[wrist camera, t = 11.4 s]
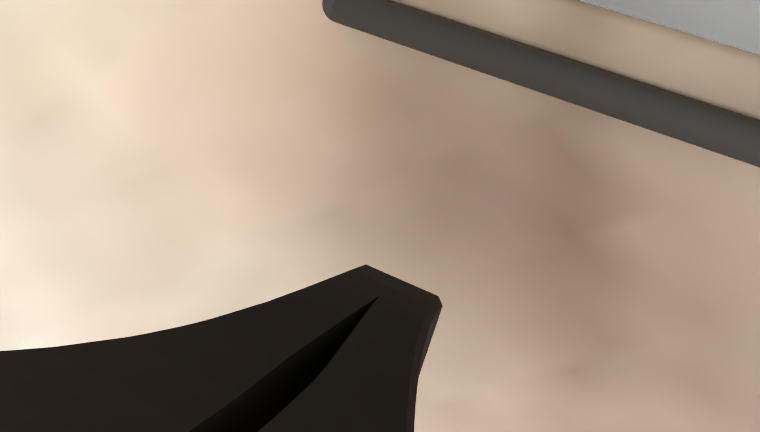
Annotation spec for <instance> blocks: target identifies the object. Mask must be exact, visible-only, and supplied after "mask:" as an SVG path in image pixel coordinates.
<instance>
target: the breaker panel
mask: <svg viewBox="0 0 760 432" xmlns="http://www.w3.org/2000/svg"><path fill="white" fill-rule="evenodd" d="M579 1H583V2H586V3H589V4H593V5H596V6H599V7H602V8H606V9H609V10H612V11H616V12H619V13H622V14H626V15H629V16H632V17H635V18H639V19H642V20H645V21H649V22H652V23H655V24H659V25H662V26H665V27H669V28H672V29H675V30H678V31H682V32H685V33H688V34H692V35H695V36H698V37H702V38H705V39H708V40H712V41H715V42H718V43H721V44H725V45H728V46H731V47H735V48H738V49H741V50H745V51H748V52H751V53H754V54H758V55H760V0H579Z"/></svg>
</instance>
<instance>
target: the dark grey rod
mask: <svg viewBox="0 0 760 432" xmlns="http://www.w3.org/2000/svg"><path fill="white" fill-rule="evenodd" d="M322 5H323V10H324V12H325V14H326V16H327V17H328V18H329V19H330V20H332V21H334V22H337V23H340V24H342V25H345V26H348V27H351V28H354V29H357V30H360V31H363V32H366V33H369V34H372V35H375V36H378V37H380V38H383V39H386V40H389V41H392V42H395V43H398V44H401V45H404V46H407V47H410V48H413V49H416V50H418V51H421V52H424V53H427V54H430V55H433V56H436V57H439V58H442V59H445V60H448V61H451V62H454V63H456V64H459V65H462V66H465V67H468V68H471V69H474V70H477V71H480V72H483V73H486V74H489V75H492V76H494V77H497V78H500V79H503V80H506V81H509V82H512V83H515V84H518V85H521V86H524V87H527V88H530V89H532V90H535V91H538V92H541V93H544V94H547V95H550V96H553V97H556V98H559V99H562V100H565V101H568V102H570V103H573V104H576V105H579V106H582V107H585V108H588V109H591V110H594V111H597V112H600V113H603V114H606V115H608V116H611V117H614V118H617V119H620V120H623V121H626V122H629V123H632V124H635V125H638V126H641V127H644V128H646V129H649V130H652V131H655V132H658V133H661V134H664V135H667V136H670V137H673V138H676V139H679V140H682V141H684V142H687V143H690V144H693V145H696V146H699V147H702V148H705V149H708V150H711V151H714V152H717V153H720V154H722V155H725V156H728V157H731V158H734V159H737V160H740V161H743V162H746V163H749V164H752V165H755V166H757V167H760V121H758V120H755V119H752V118H749V117H746V116H743V115H740V114H737V113H734V112H731V111H728V110H725V109H722V108H719V107H715V106H712V105H709V104H706V103H703V102H700V101H697V100H694V99H691V98H688V97H685V96H682V95H679V94H676V93H672V92H669V91H666V90H663V89H660V88H657V87H654V86H651V85H648V84H645V83H642V82H639V81H636V80H633V79H630V78H626V77H623V76H620V75H617V74H614V73H611V72H608V71H605V70H602V69H599V68H596V67H593V66H590V65H587V64H583V63H580V62H577V61H574V60H571V59H568V58H565V57H562V56H559V55H556V54H553V53H550V52H547V51H544V50H540V49H537V48H534V47H531V46H528V45H525V44H522V43H519V42H516V41H513V40H510V39H507V38H504V37H501V36H498V35H494V34H491V33H488V32H485V31H482V30H479V29H476V28H473V27H470V26H467V25H464V24H461V23H458V22H455V21H451V20H448V19H445V18H442V17H439V16H436V15H433V14H430V13H427V12H424V11H421V10H418V9H415V8H412V7H409V6H405V5H402V4H399V3H396V2H393V1H390V0H323V3H322Z"/></svg>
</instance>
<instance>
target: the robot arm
mask: <svg viewBox="0 0 760 432" xmlns="http://www.w3.org/2000/svg"><path fill="white" fill-rule="evenodd" d="M441 309H442V303H441V301H440V299H439V297H438V296H436V295H434V294H432V293H430V292H427V291H425V290H423V289H420V288H418V287H416V286H414V285H411V284H409V283H407V282H404V281H402V280H400V279H398V278H395V277H393V276H391V275H388V274H386V273H384V272H382V271H379V270H377V269H375V268H372V267H370V266H368V265H363V266H361V267H358V268H355V269H353V270H350V271H347V272H345V273H342V274H340V275H337V276H334V277H332V278H329V279H327V280H324V281H322V282H319V283H316V284H314V285H311V286H309V287H306V288H304V289H301V290H298V291H296V292H293V293H290V294H287V295H285V296H282V297H279V298H276V299H274V300H271V301H268V302H265V303H262V304H259V305H255V306H252V307H249V308H245V309H242V310H239V311H236V312H232V313H229V314H226V315H223V316H219V317H216V318H213V319H209V320H205V321H202V322H198V323H194V324H189V325H185V326H181V327H177V328H172V329H167V330H162V331H157V332H152V333H148V334H143V335H137V336H132V337H126V338H118V339H111V340H103V341H96V342H88V343H81V344H74V345H66V346H59V347H49V348H37V349H24V350H12V351H0V432H414V419H415V403H416V393H417V384H418V377H419V374H420V371H421V368H422V365H423V362H424V359H425V356H426V353H427V350H428V347H429V344H430V341H431V338H432V335H433V332H434V330H435V327H436V324H437V321H438V318H439V315H440V312H441Z"/></svg>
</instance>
